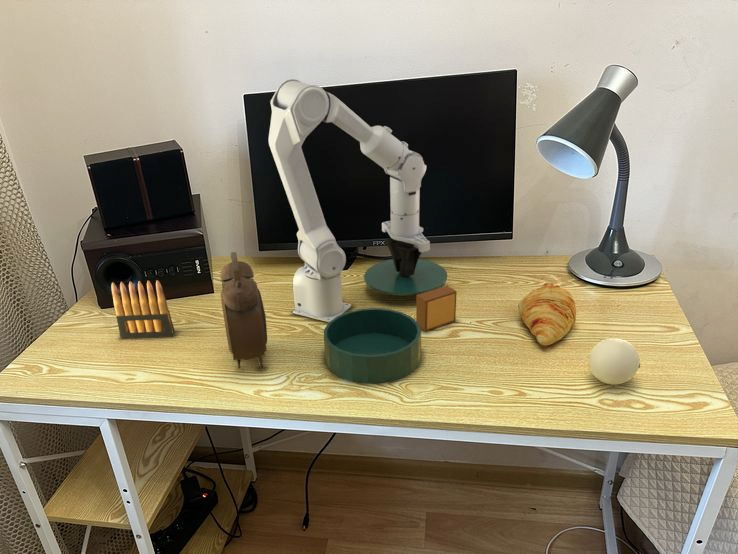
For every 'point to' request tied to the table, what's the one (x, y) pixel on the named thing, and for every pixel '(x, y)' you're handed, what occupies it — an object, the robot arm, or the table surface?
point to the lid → (405, 278)
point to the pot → (372, 345)
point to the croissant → (548, 313)
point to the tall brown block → (436, 308)
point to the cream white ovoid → (614, 361)
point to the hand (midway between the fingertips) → (404, 272)
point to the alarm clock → (243, 312)
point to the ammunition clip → (142, 312)
